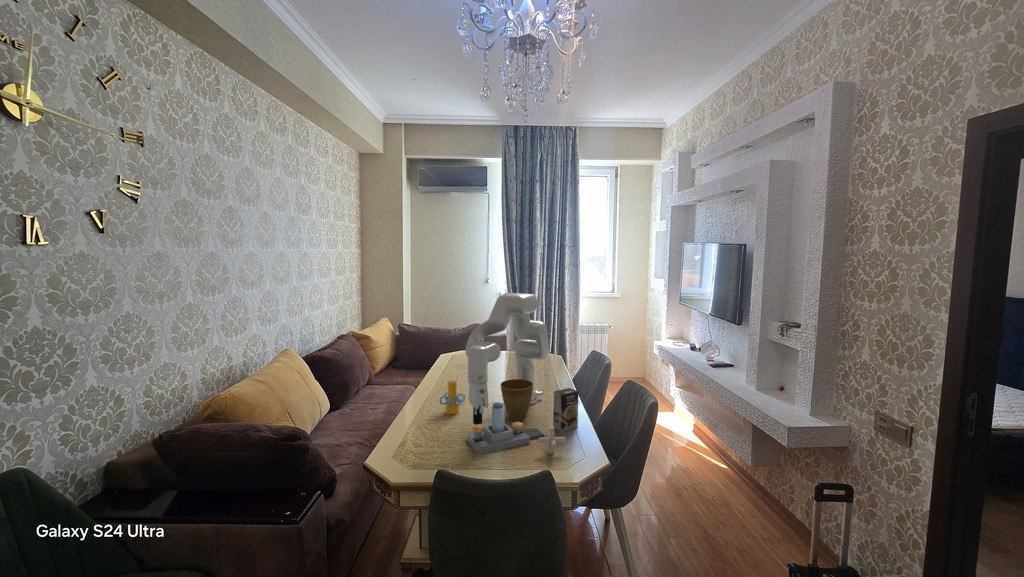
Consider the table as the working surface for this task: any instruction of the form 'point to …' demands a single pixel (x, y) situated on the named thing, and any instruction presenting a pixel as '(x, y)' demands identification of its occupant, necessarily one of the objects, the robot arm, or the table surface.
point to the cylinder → (452, 398)
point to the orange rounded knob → (478, 431)
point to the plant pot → (517, 397)
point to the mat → (534, 433)
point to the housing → (497, 439)
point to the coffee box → (565, 409)
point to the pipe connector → (551, 440)
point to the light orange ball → (517, 427)
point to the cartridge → (497, 418)
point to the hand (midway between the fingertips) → (477, 423)
